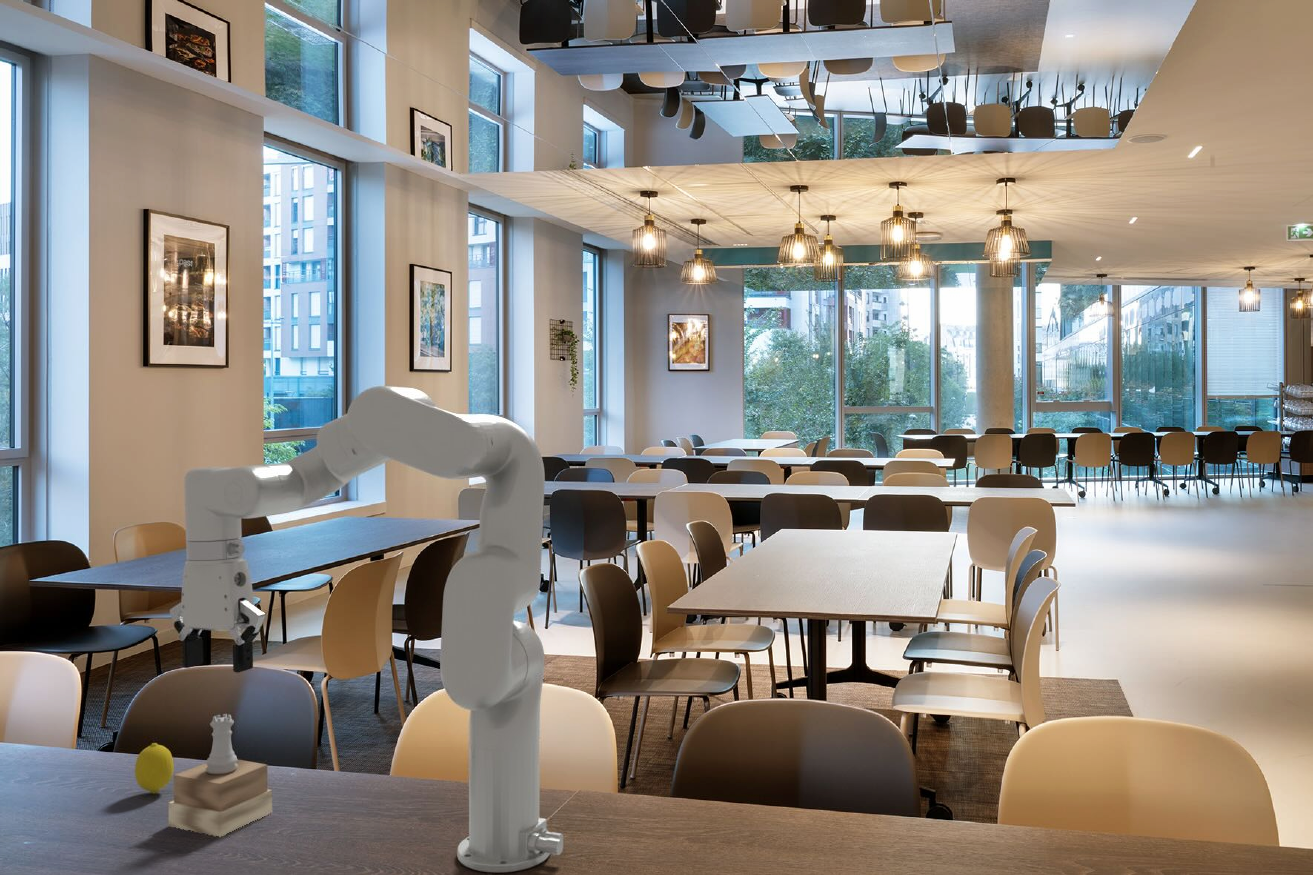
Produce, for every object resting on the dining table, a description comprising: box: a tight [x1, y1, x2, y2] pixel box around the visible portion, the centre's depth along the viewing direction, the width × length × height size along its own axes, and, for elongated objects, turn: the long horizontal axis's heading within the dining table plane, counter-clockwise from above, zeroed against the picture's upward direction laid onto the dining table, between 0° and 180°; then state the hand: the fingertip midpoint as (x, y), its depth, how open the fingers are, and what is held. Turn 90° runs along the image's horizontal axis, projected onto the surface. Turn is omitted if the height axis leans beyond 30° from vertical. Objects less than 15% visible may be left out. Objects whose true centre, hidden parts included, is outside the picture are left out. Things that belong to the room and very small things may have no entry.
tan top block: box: [173, 758, 268, 812], centre depth 153 cm, size 9×9×4 cm
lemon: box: [134, 742, 175, 795], centre depth 164 cm, size 6×6×8 cm
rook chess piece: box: [205, 713, 239, 775], centre depth 153 cm, size 4×4×8 cm
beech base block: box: [168, 788, 273, 838], centre depth 153 cm, size 10×10×4 cm
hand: (218, 668), depth 152 cm, fingers open, 9 cm apart
